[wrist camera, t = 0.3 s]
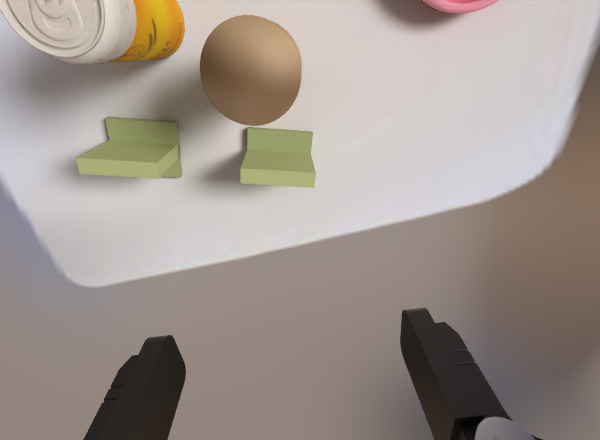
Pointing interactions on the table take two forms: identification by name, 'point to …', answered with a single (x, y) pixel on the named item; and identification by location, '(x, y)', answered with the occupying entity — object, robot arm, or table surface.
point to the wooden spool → (251, 70)
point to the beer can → (98, 28)
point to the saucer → (459, 5)
